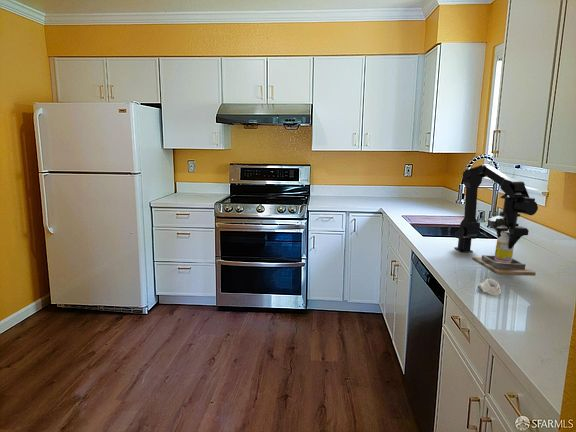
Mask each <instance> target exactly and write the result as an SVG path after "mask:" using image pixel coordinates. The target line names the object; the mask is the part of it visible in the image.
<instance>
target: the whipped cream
mask: <svg viewBox="0 0 576 432" xmlns="http://www.w3.org/2000/svg"><path fill="white" fill-rule="evenodd" d="M477 289H479V290H482V292H483V293H487V294H489V295H491V296H499V295H501V293H502V289H501V286H500V284H499V282H497V280H494V279H490V278H486V279H485V280H484V281H483V282H480V284H479V285H478V286H477Z"/></svg>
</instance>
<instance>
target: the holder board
mask: <svg viewBox="0 0 576 432" xmlns="http://www.w3.org/2000/svg"><path fill="white" fill-rule="evenodd" d="M494 257H495V255H483V254H482V255H481V256H472V260H473V261H474V262H477V263H479V264H480V265H481V266H483V265H484V267H485V268H487V269H488V270H490V271H492V272H494V273H495V274H497V275H527V276H528V275H531V276H532V275H533V276H534V275H536V274H537V273H536V271H533V270H532V269H530V268H528V267H526V263H524V262H521V261H520V260H517V259H515V258H513V257H512V261H511V262H510V263H502V262H498V261H496V260H495V259H494Z"/></svg>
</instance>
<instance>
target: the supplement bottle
mask: <svg viewBox="0 0 576 432" xmlns="http://www.w3.org/2000/svg"><path fill="white" fill-rule="evenodd" d="M507 233H509V230H508V231H501V237H497V239H496V245H495V252H494V256H495V257H494V259H495V260H496V261H498V262H502V263H510V262H511V261H512V258H513V256H514V255H513V254H514V248H515V245H514V246H513V247H512V249H509V247H508V245H509V236H508V235H507Z"/></svg>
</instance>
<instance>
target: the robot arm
mask: <svg viewBox="0 0 576 432" xmlns="http://www.w3.org/2000/svg"><path fill="white" fill-rule="evenodd" d="M486 177H487V178H488V179H490V180H491V181H493V182H495V183H496V184H498V185H499V187H500V190H501V191H502V192H503V193H504V194H503V195H501V196H500V199H504V202H503V206H502V207H503V208H502V211H500V212H499V215H496V216H492V217H490V218H487V224H488V227H491V228H492V229H494V231H495V232H496V236H497V238H498V237H501V231H509V233H507V235H508V236H509V245H508V247H509V249H512V247H513V246H514V247H515V245H516V244H517V242H518V241H519V240H520V239H521V238H522V237H524V236H529V232H530V231H529V229H528V227H527V228H526V227H524V226H521V225H520V224H519V223H517V221H518V218H519V217H521V214H522V215H526V216H534V215H535V214H537V212H538V210H539V209H538V208H539V207H538V203H537V202H536V198H533V197H530V195H529V193H528V190H527V188H526V186H525V182H524V181H522V180H519V179H516V178H513V177H510V176H507V175H506V174H504V173H503V172H501V171H500V170H498V169H496V168H495V167H493V165H491V164H480V165H478V166H475V167H472V168H467V169H465V170H463V172H462V183H463V185H464V186H465V200H464V201H465V202H464V216H463V219H462V220H461V222H460V223H459V228H458V229H457V230H456V231H455V232H454V238H455V239H458V241H457V247H456V246H455V247H454V249H455V250H456V251H458V252H461V253H474V250H472V249H471V247H472V240H476V239H477V237H478V235H479V232H480V231H481V222H480V221H478V220H477V217H476V216H477V204H478V202H477V201H478V189H479V187H480V186H481V184H482V182H483V179H484V178H486ZM519 225H520V226H519Z"/></svg>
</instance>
